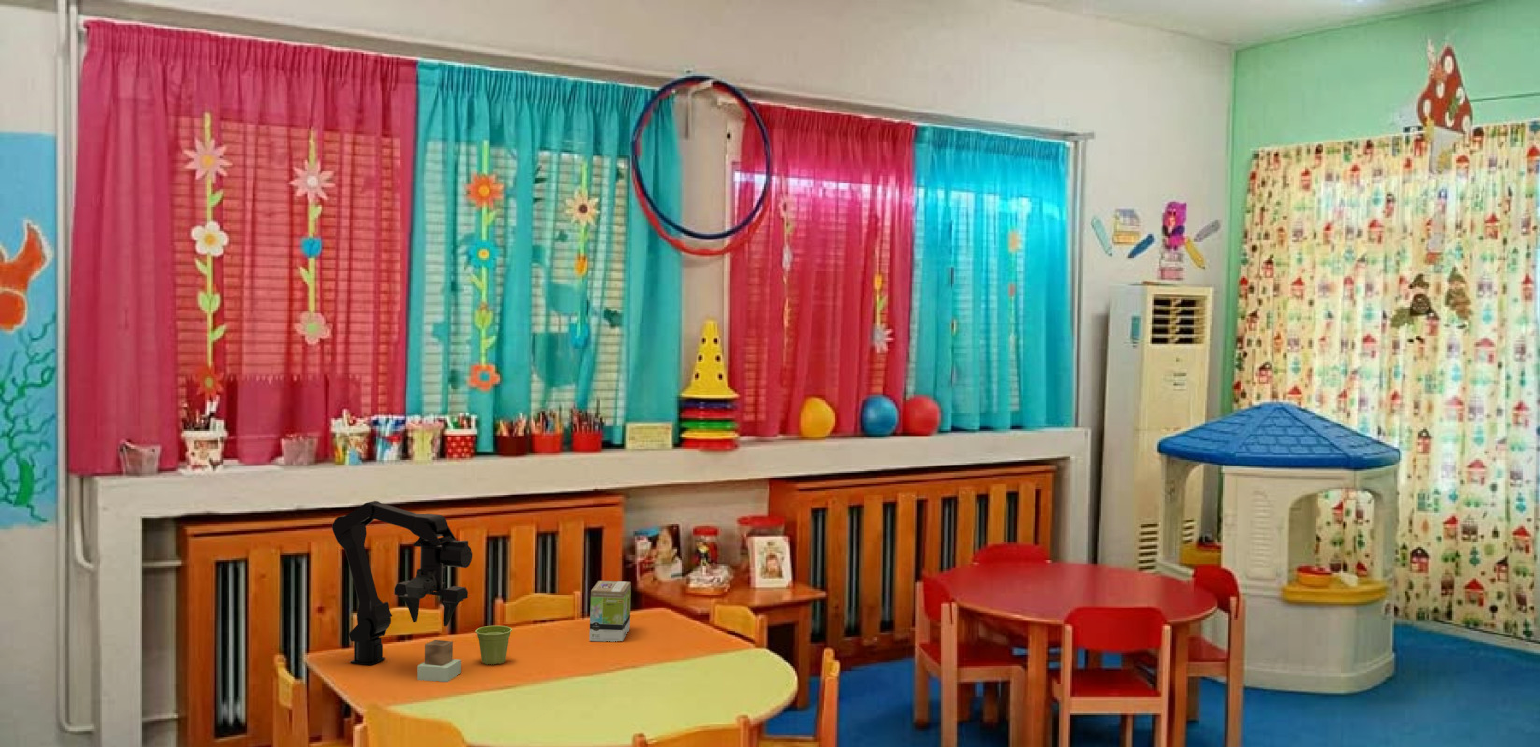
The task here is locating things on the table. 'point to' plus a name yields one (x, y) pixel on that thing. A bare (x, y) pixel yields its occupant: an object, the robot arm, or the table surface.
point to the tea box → (610, 611)
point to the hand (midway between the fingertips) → (430, 624)
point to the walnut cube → (438, 652)
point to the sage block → (439, 671)
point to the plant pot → (493, 643)
